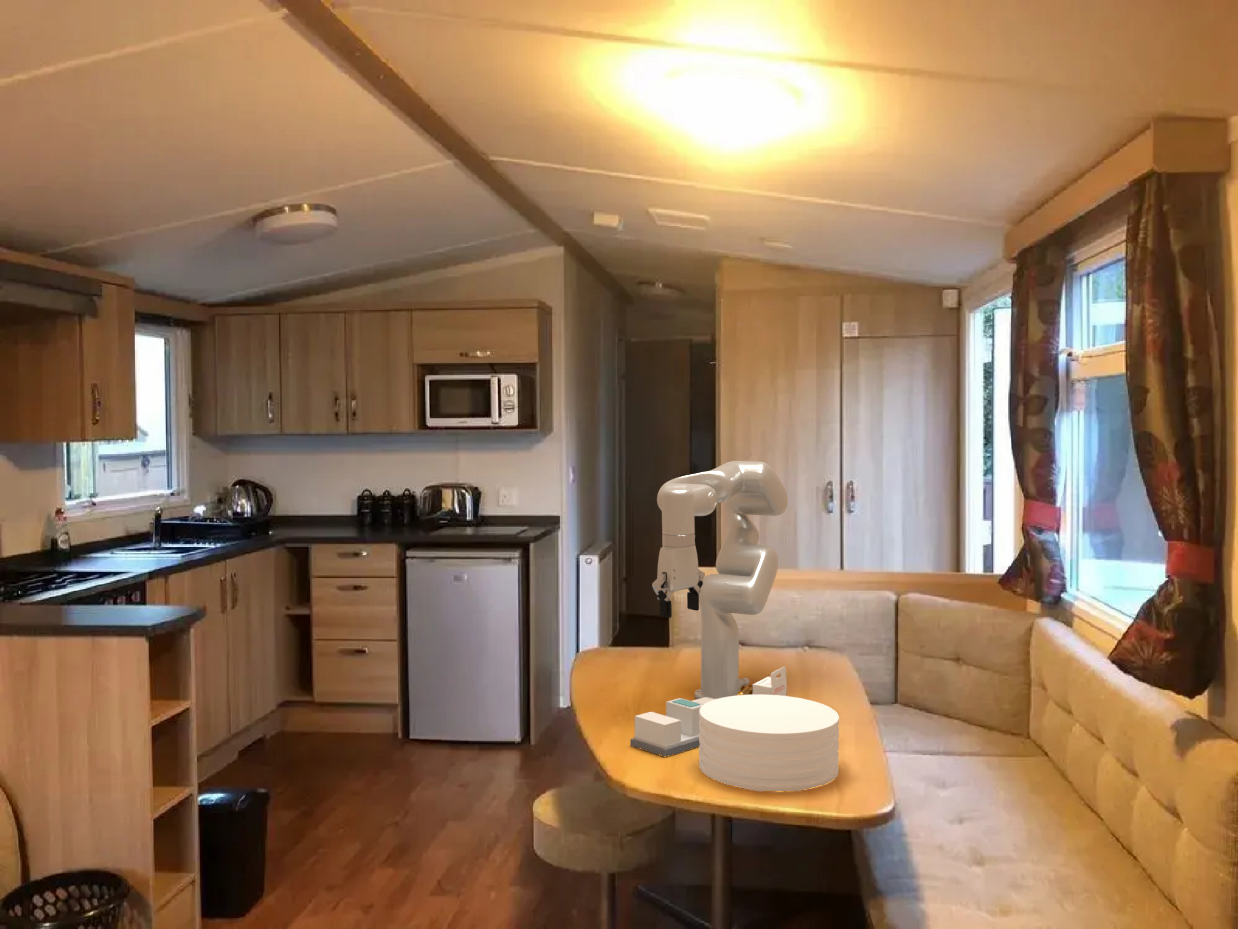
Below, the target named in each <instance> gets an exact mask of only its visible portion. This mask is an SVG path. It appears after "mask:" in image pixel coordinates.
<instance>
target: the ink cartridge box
mask: <svg viewBox="0 0 1238 929" xmlns="http://www.w3.org/2000/svg"><path fill="white" fill-rule="evenodd" d="M778 675H780V676H779V677H777V676H778ZM787 684H788V682H787V670H786V666H785V665H784V666H783V667H780V668H778V669H776V670H774V671H773V672H770V676H766V677H765V678H762V679H761V680H759V681H757V682H755V683H753V684H752V695H780V696H788V695H787V693H788V691H787V689H788V688H787V687H788V686H787Z"/></svg>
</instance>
